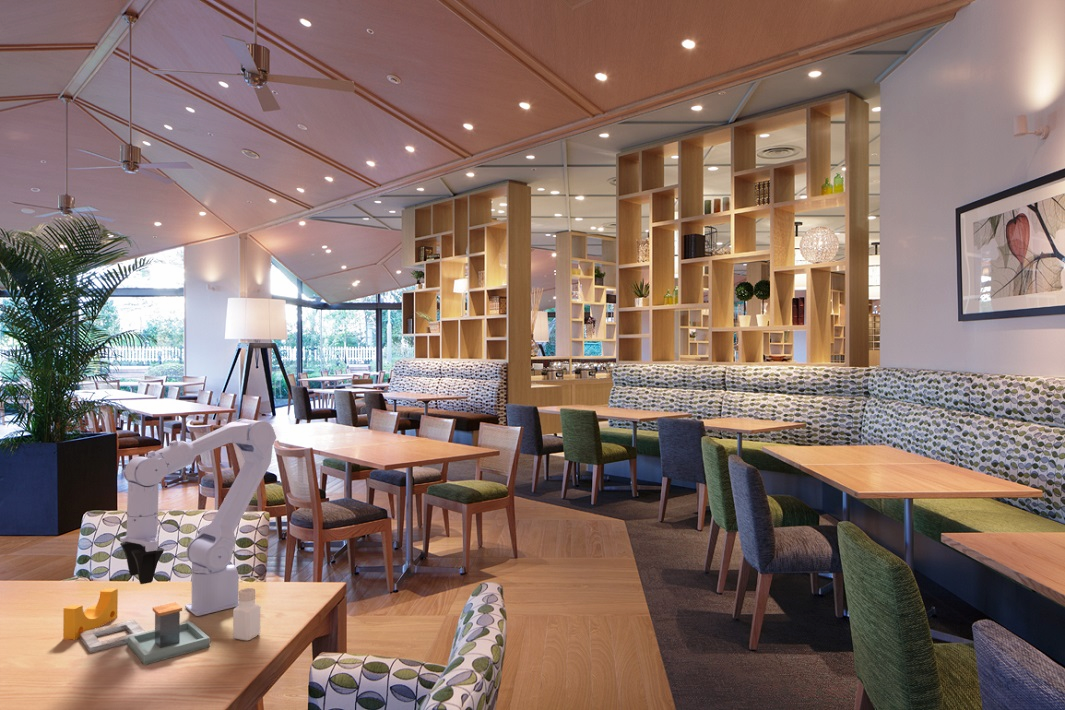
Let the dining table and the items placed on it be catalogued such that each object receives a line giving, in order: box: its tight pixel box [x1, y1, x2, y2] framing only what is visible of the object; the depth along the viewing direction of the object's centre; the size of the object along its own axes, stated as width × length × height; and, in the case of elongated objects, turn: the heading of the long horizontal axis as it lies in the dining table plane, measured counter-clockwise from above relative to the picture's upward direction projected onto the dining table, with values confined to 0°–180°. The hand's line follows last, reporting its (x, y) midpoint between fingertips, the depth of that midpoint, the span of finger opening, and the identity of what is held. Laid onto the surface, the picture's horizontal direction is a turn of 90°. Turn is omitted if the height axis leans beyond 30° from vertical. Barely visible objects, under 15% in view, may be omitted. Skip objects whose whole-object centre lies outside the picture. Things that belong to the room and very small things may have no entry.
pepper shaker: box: [232, 587, 261, 641], centre depth 141 cm, size 4×4×10 cm
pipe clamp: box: [62, 587, 119, 641], centre depth 146 cm, size 12×4×6 cm, turn 173°
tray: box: [127, 620, 211, 665], centre depth 136 cm, size 12×12×2 cm
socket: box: [78, 619, 147, 654], centre depth 140 cm, size 10×10×1 cm
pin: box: [152, 601, 183, 648], centre depth 136 cm, size 4×4×7 cm
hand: (140, 578), depth 145 cm, fingers open, 7 cm apart
